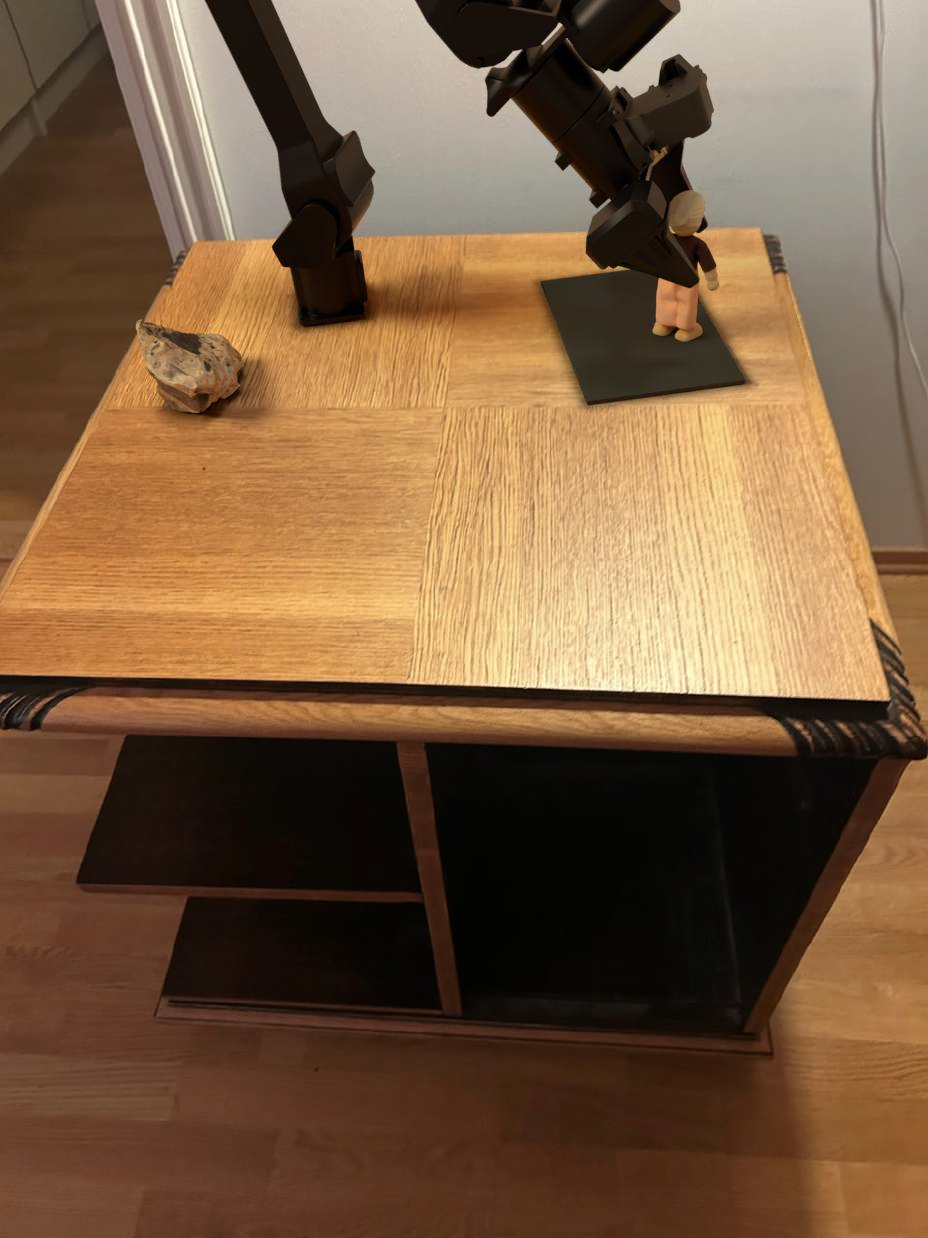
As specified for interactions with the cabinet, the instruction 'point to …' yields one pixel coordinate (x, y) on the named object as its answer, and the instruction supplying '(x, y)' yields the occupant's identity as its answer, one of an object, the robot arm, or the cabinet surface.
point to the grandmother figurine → (681, 302)
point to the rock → (189, 366)
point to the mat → (632, 340)
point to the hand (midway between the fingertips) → (699, 255)
